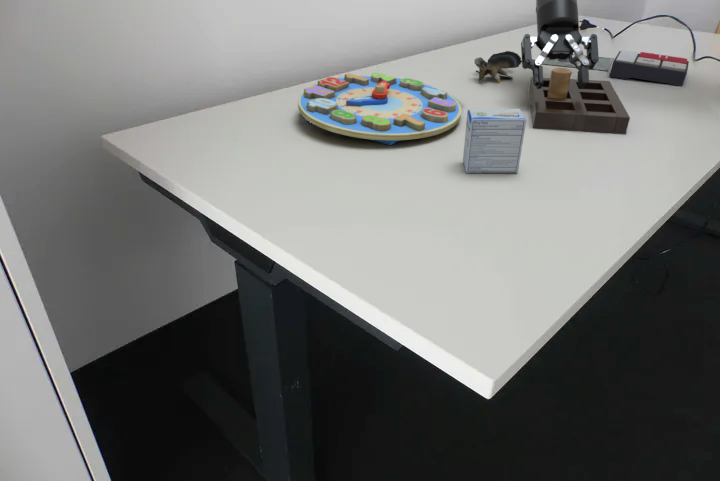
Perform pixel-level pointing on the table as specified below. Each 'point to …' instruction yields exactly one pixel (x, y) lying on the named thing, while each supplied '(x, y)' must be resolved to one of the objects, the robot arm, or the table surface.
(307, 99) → the shape sorting clock
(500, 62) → the squirrel figurine
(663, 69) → the dual switch box
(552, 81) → the peg
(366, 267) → the table surface
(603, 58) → the grey fossil slab
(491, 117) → the medicine box
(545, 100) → the brown grid tray
